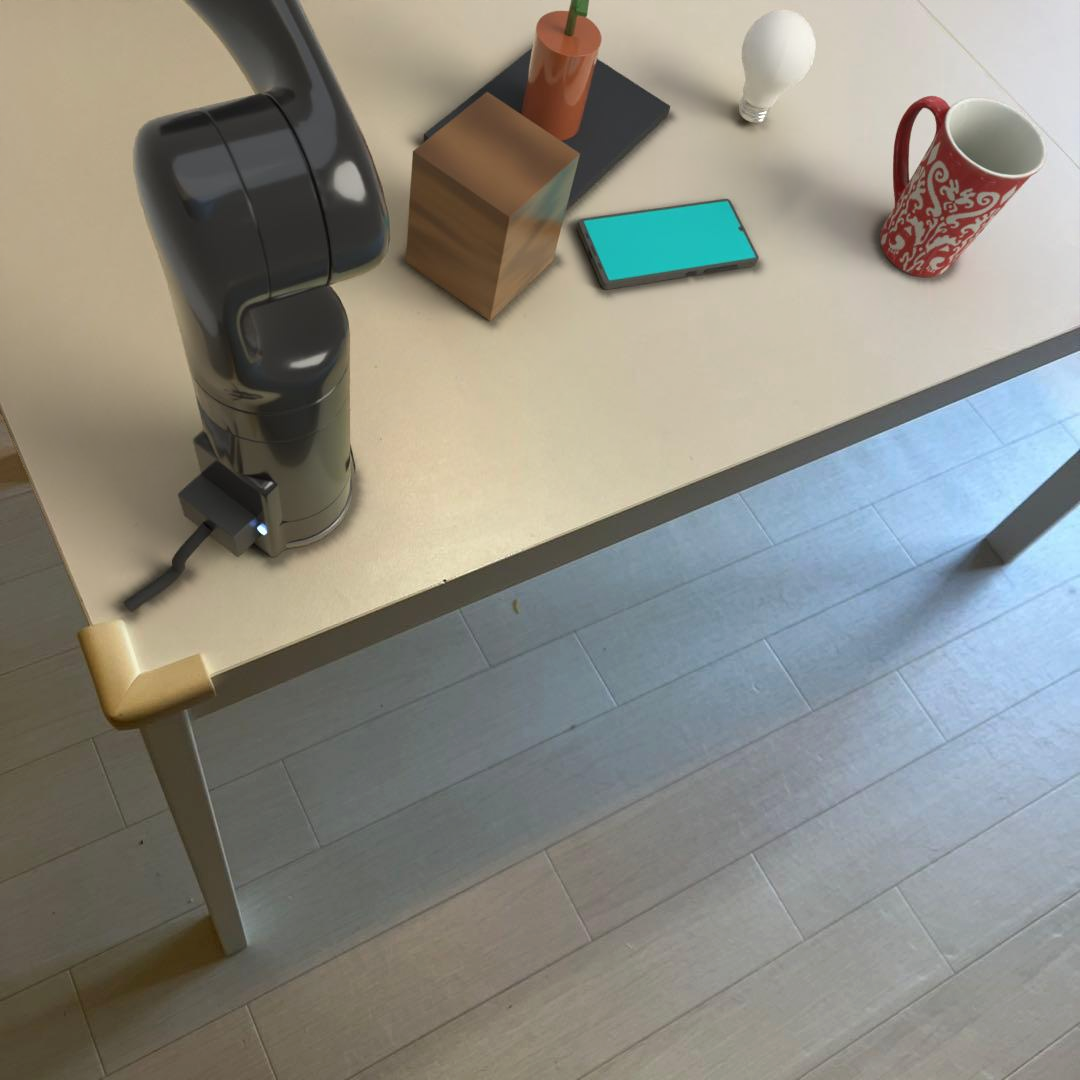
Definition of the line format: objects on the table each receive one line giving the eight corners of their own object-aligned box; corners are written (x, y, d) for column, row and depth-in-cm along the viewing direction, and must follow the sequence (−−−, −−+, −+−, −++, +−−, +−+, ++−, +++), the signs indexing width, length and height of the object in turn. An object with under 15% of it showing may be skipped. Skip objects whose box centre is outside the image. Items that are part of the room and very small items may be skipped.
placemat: (546, 229, 90) (549, 219, 88) (422, 144, 92) (423, 133, 91) (667, 116, 98) (670, 106, 97) (551, 41, 100) (553, 30, 99)
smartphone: (577, 219, 89) (729, 198, 93) (575, 225, 90) (726, 204, 94) (605, 284, 87) (760, 260, 91) (603, 291, 87) (757, 266, 91)
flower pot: (557, 150, 92) (604, -58, 75) (508, 117, 93) (544, -96, 76) (593, 118, 95) (647, -90, 77) (545, 87, 96) (588, -127, 78)
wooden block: (489, 321, 84) (509, 217, 73) (405, 262, 85) (412, 150, 75) (553, 260, 88) (580, 153, 77) (471, 204, 89) (487, 91, 79)
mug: (980, 269, 96) (1069, 159, 84) (910, 298, 93) (992, 188, 81) (900, 175, 100) (974, 57, 88) (830, 200, 97) (896, 81, 85)
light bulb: (779, 150, 99) (826, 52, 89) (713, 132, 98) (753, 32, 89) (784, 103, 102) (829, 4, 92) (720, 86, 102) (759, -15, 92)
